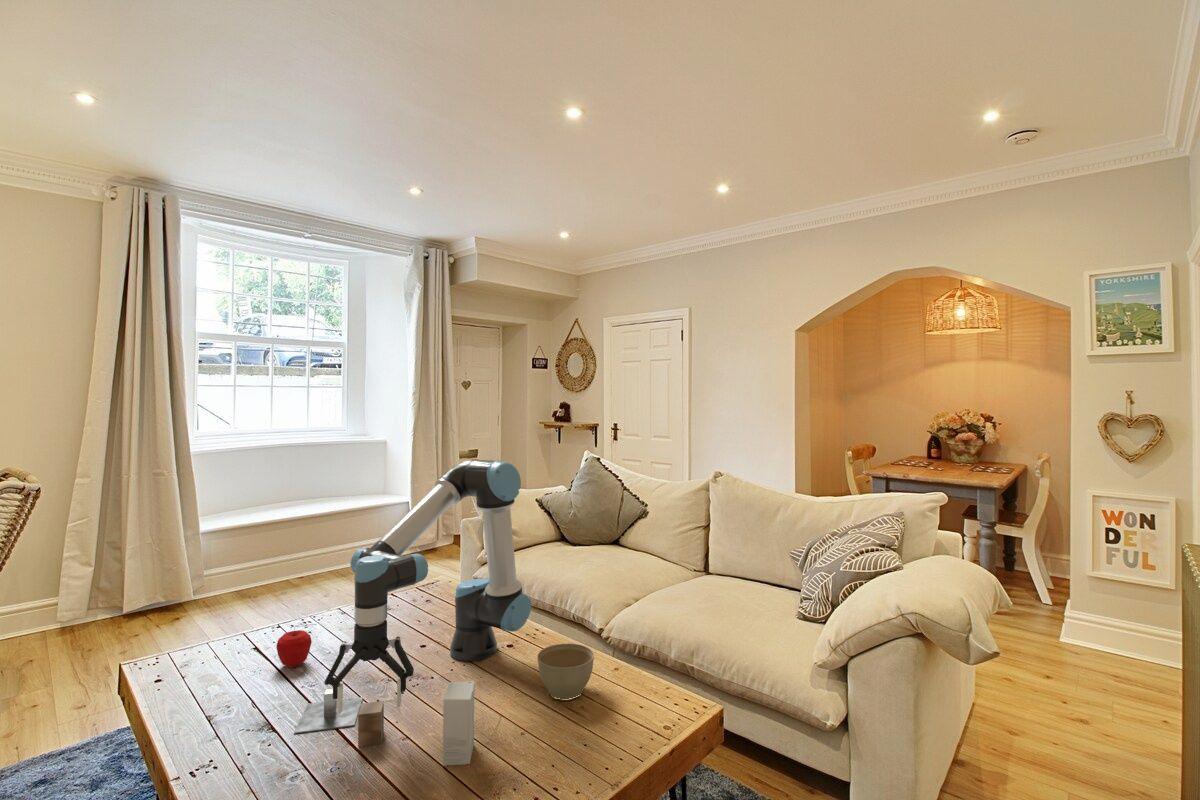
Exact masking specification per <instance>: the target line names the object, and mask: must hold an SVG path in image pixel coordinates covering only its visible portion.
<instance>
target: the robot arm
mask: <svg viewBox="0 0 1200 800" xmlns="http://www.w3.org/2000/svg"><path fill="white" fill-rule="evenodd" d="M521 479H522V478H521V474H520V472H519V471H518V469H517V467H516V466H514V465H513V464H512V463H510V462H507V461H502V460H491V459H490V460H488V459H477V458H475V459H474V458H473V459H472V458H471V459H468V460H465V461H462V462H460V463H458V464H456V465H454V466H453V467H452V468H450V469H448V470H447V471H446V472H444V473H443V474H442V475H441V476H440V477H439V478H438V479H437V480H436V481H435V482H434V487H433V488H432V489H431V490H430V491H429V492H428V493H427V494H426V495H425V496H423V497H422V499H420V500H419V502H417V503H416V504H415V505H414V506H413V507H412V508H411V509H410V510H409V511H408V512H407V513H406V514H405V515H403V517H401V518H400V519H399V521H398V522H396V523H395V524H393V526H391V528H390V529H389V530H387V532H386V533H384V534H383V536H381V537H380V539H378V540H377V541H376V542H375V543H374V544H373V545H372V546H371V547H363V548H360V549H357V550H356V551H355V552H354V553H353V555H352V556H351V558H350V569H351V572H352V573H353V574H354V577H353V578H354V609H353V611H354V621H353V622H354V623H355V624H354V625H353V627H354V628H353V629H354V630H353V636H354V637H353V642H347V641H345V640H343V641H341V644H340V646H339V651H338V654H337V657H336V659H335V661H334V663H333V665H332V667H331V668H330V671H329V672H328V674H327V676H326V678H325V680H324V682H323V683H324V685H326V686H328V685H330V686H331V687H332V689H333V699H337V714H341V712H342V709H343V699H344V681H343V679H344V678H345V677H346V676H347V675H348V674H349V673H350V671H351V670H352V669H353V668H354V667H355V666H356V665H357V664H358V662H359V661H360V660H361V661H362V662H367V661H377V660H378V659H380V660H381V662H383V663H384V664H385V665H386V666H388V667H389V669H390V670H391V671H392V672H393V673H394V674H396V676H397V683H396V685H397V686H396V688H397V689H396V708H401V705H402V693H404V692H406V689H407V678H408V677H412V676H414V670H415V669H414V666H413V665H412V662H411V661H410V659H409V657H408V656H407V653H406V651H405V650H404V648H403V646H402V642H401V637H400V636H396V637H395V638H393V639H392V638H391V639H389V638H388V620H387V619H388V596H389V593H390V592H394V591H398V590H400V589H402V588H407V587H409V586H410V587H411V586H414V585H416V584H418V583H420V582H422V581H424V580H425V579H426V578H427V577H428V573H429V564H428V560H427V559H426V557H425V556H424V555H422V554H420V553H413V554H411V553H410V554H409V555H404V553H405V552H406V551H407V550H408V549H409V548H410V547H411V546H412V545H413V544H414V543H416V541H417V540H418V539H419V538H420V537H421V536H422V535H423V534H424V533H425V532H426V531H427V530H429V528H430V527H431V526H432V525H433V524H434V523H435V522H436V521H437V520H438V519H439V518H440V517H441V516H442V515H443V514H444V513H445V512H446V511H447V510H448V509H449V508H450V507H451V506H452V505H457V504H458V503H460V501H462V500H463V499H464V498H467V497H474V498H475V499H476V507H477V508H478V510H480V511H482V520H483V530H484V532H483V533H484V540H485V541H484V542H485V553H486V563H487V573H488V574H487V575H488V578H474V579H469V580H466V581H462V582H461V583H458V585H457V586H456V588H455V596H454V603H455V605H454V606H455V607H454V608H455V609H454V610H455V611H454V612H455V629H454V633H453V636H452V640H451V643H450V646H449V654H450V656H451V657H452V658H453V659H454V660H457V661H461V662H462V661H463V662H475V661H481V660H485V659H487V658H490V657H492V656H493V655H495V654H496V653H497V650H498V641H497V638H496V637H495V632H494V629H493V628H496V629H500V630H502V631H503V632H504V631H505V632H506V631H507V632H511V633H513V632H517V631H519V630H520V629H522V628H523V627H524V626H525V624H526V622H527V621H528V619H529V617H530V614H531V611H532V601H531V597H530V596H529V595H528V594H527V593H523V585H522V582H521V581H519V580H518V579H517V571H516V569H517V568H516V560H515V559H516V557H515V547H514V535H513V523H512V515H511V514H512V512H511V507H512V506H513V505H514V504H515V499H516V498H517V497H518V495H519V494H520V491H519V490H520V489H521V487H522V481H521ZM389 646H391V648H392V649H394V650H395V653H396V655H397V657H398V659H399V661H400V663H401V665H402V666H403V667H402V666H401V665H400V664H399V662H398V661H397V660H395V659H394V657H393V656H392V655H391V654H390V653H389V651H388V650H387V648H388V647H389ZM350 650H352V651H353V653H354V655H353V656H352V658H351V659H350V660H349V662H348V663H347V664H346V665H345V666H344V667H343V669H341V670H340V671H339V673H338V674H337V676H335V674H336V672H337V670H338V668H339V666H340V664H341V662H342V660H343V658H344V657H345V654H347V653H349V651H350ZM334 676H335V677H334Z"/></svg>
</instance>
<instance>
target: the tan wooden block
mask: <svg viewBox="0 0 1200 800" xmlns="http://www.w3.org/2000/svg"><path fill="white" fill-rule="evenodd" d="M384 702H385V701H384V700H381V701H380V700H379V701H371V702H363V703H361V706H360V709H359V713H358V716H357V719H358V720H357V732H358V733H357V736H358V737H357V742H358V743H357V744H358V745H357V746H358V747H357V748H359V747H360V748H361V747H362V748H363V747H368V746H375V745H381V744H382V741H383V738H384V737H383V736H384V733H385V726H384V725H385V721H384V720H385V715H384V713H385V712H384V711H385V709H384V708H385V707H384V706H385V703H384Z"/></svg>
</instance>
